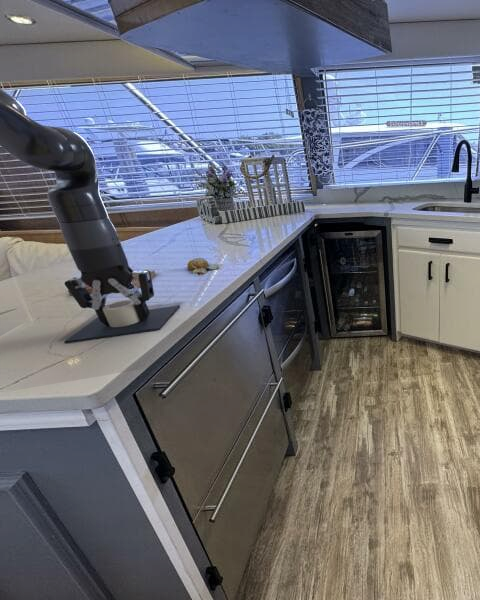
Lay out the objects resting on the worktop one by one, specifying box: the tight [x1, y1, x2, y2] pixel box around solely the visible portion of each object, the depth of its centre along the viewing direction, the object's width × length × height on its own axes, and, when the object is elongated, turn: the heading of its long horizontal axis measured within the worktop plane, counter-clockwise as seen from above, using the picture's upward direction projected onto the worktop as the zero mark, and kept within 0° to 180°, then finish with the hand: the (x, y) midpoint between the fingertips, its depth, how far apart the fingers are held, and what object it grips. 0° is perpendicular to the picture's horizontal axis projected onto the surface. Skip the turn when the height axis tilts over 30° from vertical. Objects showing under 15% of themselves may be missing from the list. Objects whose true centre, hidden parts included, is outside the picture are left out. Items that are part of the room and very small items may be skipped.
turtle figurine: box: [187, 257, 221, 275], centre depth 101 cm, size 8×8×4 cm
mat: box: [63, 304, 181, 344], centre depth 68 cm, size 16×12×1 cm
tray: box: [67, 269, 156, 297], centre depth 90 cm, size 15×12×2 cm
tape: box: [102, 298, 140, 327], centre depth 67 cm, size 6×6×4 cm
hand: (127, 321), depth 68 cm, fingers closed on tape, 5 cm apart
